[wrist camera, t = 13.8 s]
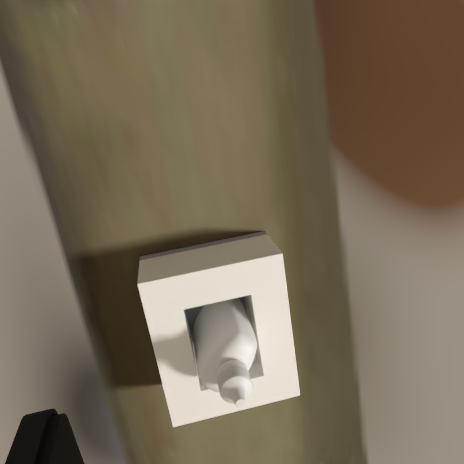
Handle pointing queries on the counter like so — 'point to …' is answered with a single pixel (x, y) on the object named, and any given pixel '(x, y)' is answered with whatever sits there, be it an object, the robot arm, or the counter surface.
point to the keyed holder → (211, 291)
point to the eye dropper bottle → (225, 350)
